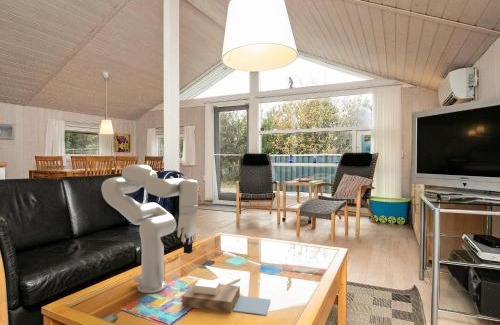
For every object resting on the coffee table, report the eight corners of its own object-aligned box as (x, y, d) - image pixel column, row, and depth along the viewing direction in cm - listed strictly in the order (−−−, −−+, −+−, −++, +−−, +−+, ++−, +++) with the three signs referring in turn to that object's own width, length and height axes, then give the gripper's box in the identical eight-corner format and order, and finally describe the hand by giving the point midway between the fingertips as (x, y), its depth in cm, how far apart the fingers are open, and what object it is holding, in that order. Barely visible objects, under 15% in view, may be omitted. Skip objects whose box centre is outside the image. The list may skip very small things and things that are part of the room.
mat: (232, 311, 115) (232, 310, 115) (240, 296, 127) (240, 295, 127) (265, 315, 112) (266, 314, 112) (270, 300, 124) (270, 299, 124)
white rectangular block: (194, 292, 121) (194, 285, 121) (200, 286, 127) (200, 279, 127) (215, 295, 119) (215, 287, 119) (220, 288, 125) (220, 281, 125)
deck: (182, 305, 118) (182, 296, 118) (195, 290, 132) (196, 281, 132) (230, 312, 114) (231, 302, 114) (239, 295, 128) (239, 286, 128)
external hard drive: (209, 284, 139) (228, 276, 149) (222, 289, 134) (240, 281, 144) (209, 280, 139) (228, 273, 149) (222, 286, 134) (240, 277, 143)
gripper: (187, 205, 132) (186, 246, 133) (171, 212, 117) (171, 258, 118) (203, 206, 131) (202, 248, 131) (189, 213, 116) (189, 259, 116)
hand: (187, 252), depth 125 cm, fingers closed
